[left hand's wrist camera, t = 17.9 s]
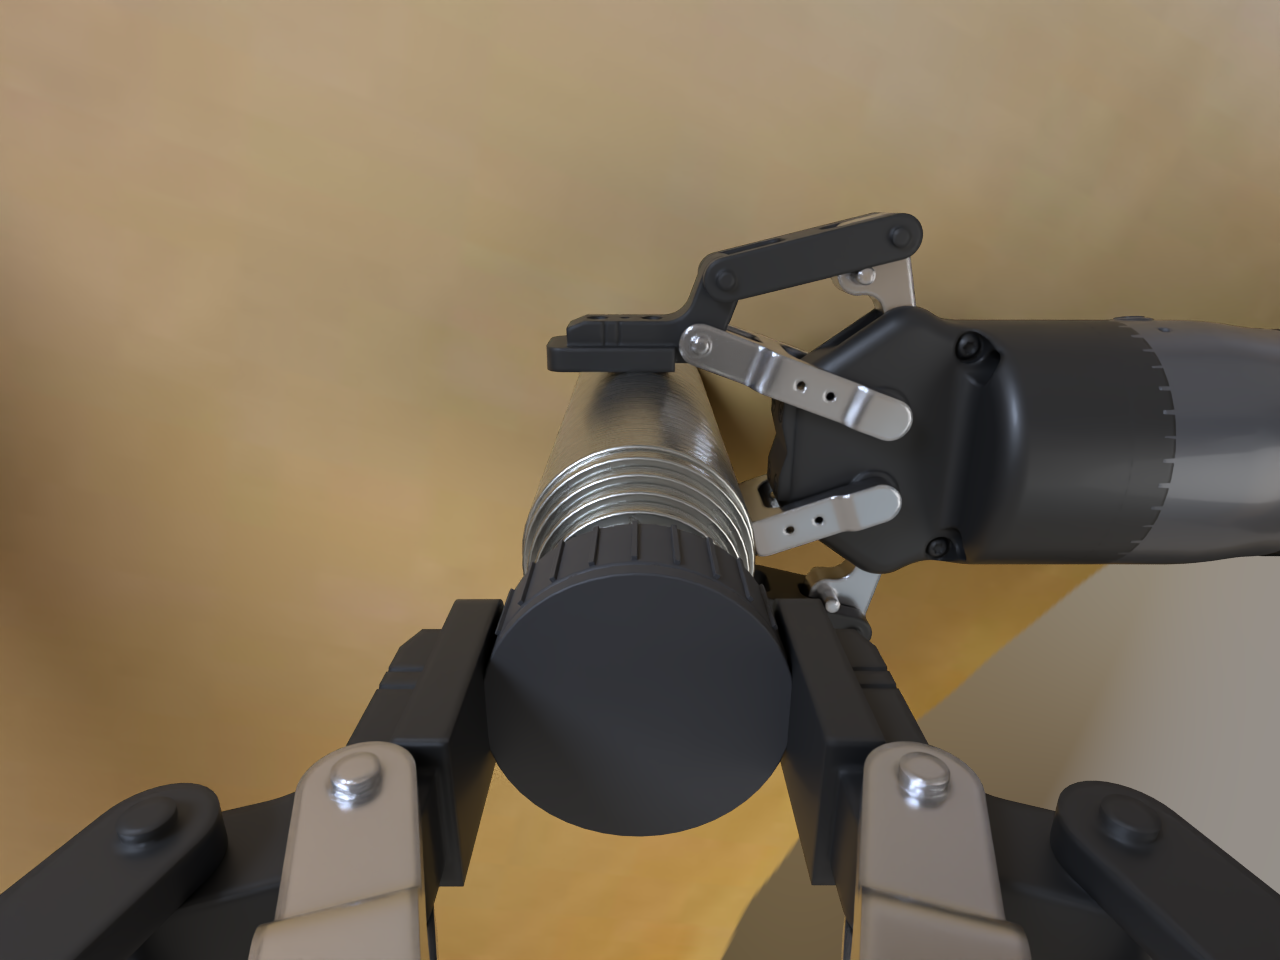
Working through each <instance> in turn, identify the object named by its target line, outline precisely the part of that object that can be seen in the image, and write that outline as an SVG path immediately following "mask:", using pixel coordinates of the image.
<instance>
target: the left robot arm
mask: <svg viewBox="0 0 1280 960" xmlns="http://www.w3.org/2000/svg"><path fill="white" fill-rule="evenodd" d="M503 608H504V604H503V601H502V600H501V599H457V600H456V601H455V602H454V604H453V606H452V608H451V610H450V613H449V615H448V617H447V619H446V621H445V623H444V625H443V628H442V629H422V630H421V631H420V632H418V633H417V634H416V635H415V636H413V637H412V638H411V639H409V640H408V641H407V642H406V643H404V644H403V645H402V646H401V647H400V648H399V650H398V651H397V653H396V655H395V657H394V659H393V661H392V662H391V664H390V666H389V671H388V672H386V673H385V675H384V677H383V679H382V681H381V683H380V684H379V689H377V690H376V692H375V694H374V695H373V697H372V699H371V701H370V703H369V705H368V706H367V708H366V710H365V712H364V714H363V716H362V717H361V719H360V721H359V723H358V725H357V727H356V728H355V730H354V732H353V734H352V736H351V738H350V739H349V741H348V743H347V745H346V747H343V748H340V749H338V750H336V751H333V752H331V753H329V754H328V755H326V756H324V757H323V758H321V759H320V760H318V761H317V762H316V763H314V764H313V765H312V766H311V767H310V768H309V769H308V770H307V771H306V772H305V774H304V775H303V776H302V777H301V779H300V781H299V783H298V785H297V788H296V792H294V793H291V794H288V795H286V796H283V797H280V798H277V799H273V800H270V801H266V802H261V803H257V804H253V805H249V806H244V807H240V808H236V809H231V810H227V811H223V812H221V808H220V804H219V800H218V798H217V795H216V794H215V793H214V792H213V791H212V790H211V789H209V788H208V787H205V786H202V785H199V784H193V783H177V784H169V785H164V786H159V787H156V788H152V789H149V790H146V791H144V792H141V793H138V794H136V795H134V796H132V797H130V798H128V799H126V800H124V801H122V802H120V803H119V804H117V805H115V806H113V807H112V808H111V809H109V810H108V811H106V812H105V813H104V814H102V815H101V816H100V817H98V818H97V819H96V820H95V821H93V822H92V823H91V824H89V825H88V826H87V827H86V828H84V829H83V830H82V831H81V832H79V833H78V834H77V835H76V836H74V837H73V838H72V839H70V840H69V841H68V842H67V843H65V844H64V845H63V846H62V847H60V848H59V849H58V850H56V851H55V852H54V853H53V854H51V855H50V856H49V857H48V858H46V859H45V860H44V861H42V862H41V863H40V864H39V865H37V866H36V867H35V868H34V869H32V870H31V871H30V872H29V873H27V874H26V875H25V876H23V877H22V878H21V879H20V880H18V881H17V882H16V883H15V884H13V885H12V886H11V887H9V888H8V889H7V890H6V891H4V892H3V893H2V894H1V895H0V960H439V955H438V939H437V927H436V919H435V911H434V901H435V898H436V895H437V891H438V888H439V886H464V882H465V878H466V874H467V871H468V867H469V863H470V859H471V855H472V851H473V847H474V844H475V840H476V836H477V832H478V828H479V824H480V820H481V817H482V813H483V809H484V805H485V801H486V797H487V793H488V790H489V786H490V782H491V778H492V774H493V770H494V766H495V763H496V761H495V759H494V757H493V755H492V753H491V751H490V747H489V737H488V725H487V714H486V702H485V690H484V674H485V670H486V667H487V663H488V660H489V658H490V655H491V652H492V649H493V646H494V643H495V640H496V637H497V635H496V634H495V632H496V629H497V626H498V623H499V620H500V617H501V614H502V611H503ZM772 611H773V614H774V617H775V620H776V624H777V627H778V631H779V635H780V638H781V641H782V644H783V647H784V650H785V653H786V656H787V662H788V665H789V668H790V671H791V674H792V690H791V702H790V714H789V726H788V738H787V748H786V750H785V753H784V755H783V757H782V759H781V761H780V762H781V766H782V770H783V773H784V777H785V781H786V785H787V789H788V793H789V797H790V801H791V805H792V809H793V813H794V817H795V821H796V825H797V829H798V833H799V837H800V841H801V845H802V849H803V853H804V857H805V861H806V865H807V869H808V873H809V877H810V880H811V884H812V885H836V887H837V891H838V894H839V897H840V901H841V905H842V908H843V912H844V914H845V919H844V927H843V940H842V955H841V960H1280V895H1279V894H1278V893H1277V892H1276V891H1274V890H1273V889H1272V888H1270V887H1269V886H1268V885H1267V884H1265V883H1264V882H1263V881H1262V880H1260V879H1259V878H1258V877H1256V876H1255V875H1254V874H1253V873H1251V872H1250V871H1249V870H1248V869H1246V868H1245V867H1244V866H1243V865H1241V864H1240V863H1239V862H1237V861H1236V860H1235V859H1234V858H1232V857H1231V856H1230V855H1229V854H1227V853H1226V852H1225V851H1224V850H1222V849H1221V848H1220V847H1218V846H1217V845H1216V844H1215V843H1213V842H1212V841H1211V840H1210V839H1208V838H1207V837H1206V836H1204V835H1203V834H1202V833H1201V832H1199V831H1198V830H1197V829H1195V828H1194V827H1193V826H1192V825H1191V824H1189V823H1188V822H1187V821H1185V820H1184V819H1183V818H1182V817H1180V816H1179V815H1178V814H1177V813H1175V812H1174V811H1173V810H1171V809H1170V808H1168V807H1167V806H1166V805H1164V804H1162V803H1161V802H1159V801H1157V800H1156V799H1154V798H1152V797H1150V796H1148V795H1146V794H1144V793H1142V792H1139V791H1137V790H1134V789H1132V788H1129V787H1126V786H1122V785H1119V784H1114V783H1109V782H1103V781H1083V782H1077V783H1074V784H1072V785H1070V786H1068V787H1067V788H1065V789H1064V790H1063V791H1062V792H1061V794H1060V796H1059V799H1058V803H1057V807H1056V811H1052V810H1048V809H1043V808H1039V807H1035V806H1031V805H1026V804H1022V803H1018V802H1013V801H1009V800H1005V799H1001V798H998V797H994V796H991V795H989V794H986V793H985V792H984V788H983V785H982V783H981V781H980V779H979V777H978V776H977V775H976V774H975V772H974V771H973V770H972V769H971V768H970V767H969V766H968V765H967V764H966V763H964V762H963V761H962V760H960V759H959V758H957V757H956V756H954V755H952V754H951V753H949V752H946V751H944V750H942V749H940V748H937V747H934V746H931V745H929V744H928V743H927V741H926V739H925V737H924V735H923V733H922V731H921V730H920V728H919V726H918V724H917V722H916V720H915V718H914V716H913V715H912V713H911V711H910V709H909V707H908V705H907V703H906V702H905V700H904V698H903V696H902V694H901V692H900V690H899V689H898V688H896V683H895V681H894V679H893V677H892V675H891V674H890V672H889V671H887V666H886V664H885V662H884V661H883V659H882V657H881V655H880V653H879V651H878V649H877V648H876V646H875V645H873V644H872V643H871V642H870V641H868V640H867V639H866V638H865V637H863V636H862V635H861V634H860V633H858V632H857V631H856V630H855V629H834V627H833V625H832V623H831V621H830V619H829V617H828V614H827V612H826V610H825V608H824V606H823V603H822V602H821V600H820V599H774V601H773V605H772Z"/></svg>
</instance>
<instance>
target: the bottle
mask: <svg viewBox="0 0 1280 960" xmlns="http://www.w3.org/2000/svg"><path fill="white" fill-rule="evenodd" d="M632 521H638V524H657V525H661V526H667V527H671V524H674V525H677V529H680V530H683V531H687V532H690V533H693V534H695V535H697V536H700V537H702V538H704V539H707V538H708V537H710V538H712V539H713V543H714V544H716V545H717V546H719V547H721V548H722V549H724V550H725V551H727V552H728V553H729V554H730V555H732V556H733V557H734V558H735V559H737V558H739V557H740V558H741V559H742V560H743V563H744V567H745V568H746V569H747V570H748V571H749V572H750V574H751V575H752V576H753V577H754V571H755V537H754V530H753V526H752V523H751V520H750V516H749V513H748V510H747V508H746V505H745V502H744V499H743V496H742V493H741V490H740V488H739V485H738V482H737V479H736V476H735V473H734V471H733V468H732V465H731V462H730V459H729V456H728V453H727V451H726V448H725V445H724V442H723V439H722V436H721V433H720V431H719V428H718V425H717V422H716V419H715V416H714V414H713V411H712V408H711V405H710V402H709V399H708V396H707V394H706V391H705V388H704V385H703V382H702V379H701V377H700V374H699V371H698V369H697V367H695V366H693V365H691V364H689V363H675V372H643V371H637V372H580V375H579V377H578V380H577V383H576V386H575V388H574V391H573V394H572V397H571V399H570V402H569V405H568V408H567V410H566V413H565V416H564V419H563V421H562V424H561V427H560V430H559V432H558V435H557V438H556V441H555V443H554V446H553V449H552V452H551V454H550V457H549V460H548V463H547V465H546V468H545V471H544V474H543V476H542V479H541V482H540V485H539V487H538V490H537V493H536V496H535V498H534V501H533V504H532V507H531V509H530V512H529V515H528V518H527V521H526V524H525V528H524V534H523V540H522V557H523V560H522V566H523V575H525V574H526V573H527V571H528V567H529V564H530V563H531V562H532V561H533V562H535V563H536V562H538V561H539V560H540V559H541V558H542V557H543V556H544V555H546V554H547V553H548V552H550V551H551V550H553V549H554V548H556V547H557V545H558V542H559V541H560V540H562V539H563V541H564V542H566V541H568V540H570V539H572V538H574V537H576V536H578V535H581V534H583V533H587V532H590V531H593V527H595V526H599V528H605V527H610V526H614V525H624V524H632Z"/></svg>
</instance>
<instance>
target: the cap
mask: <svg viewBox="0 0 1280 960" xmlns="http://www.w3.org/2000/svg"><path fill="white" fill-rule="evenodd" d="M495 634H496V635H497V637H496V640H495V643H494V646H493V649H492V652H491V655H490V658H489V660H488V663H487V667H486V670H485V674H484V690H485V702H486V714H487V725H488V737H489V747H490V751H491V753H492V755H493V757H494V759H495V761H496V762H497V764H498V766H499V767H500V769H501V770H502V772H503V773H504V774H505V776H506V777H507V778H508V780H509V781H510V782H511V783H512V784H513V785H514V786H515V787H516V788H517V789H518V790H519V791H520V793H522V794H523V795H524V796H525V797H526V798H528V799H529V800H530V801H531V802H533V803H534V804H535V805H537V806H538V807H540V808H541V809H543V810H545V811H546V812H548V813H549V814H551V815H553V816H555V817H557V818H559V819H561V820H563V821H565V822H568V823H570V824H573V825H576V826H579V827H581V828H584V829H588V830H592V831H596V832H600V833H605V834H613V835H620V836H655V835H664V834H670V833H676V832H681V831H684V830H688V829H691V828H695V827H698V826H701V825H703V824H706V823H708V822H711V821H713V820H715V819H717V818H719V817H721V816H723V815H725V814H727V813H729V812H730V811H732V810H733V809H735V808H736V807H738V806H739V805H741V804H742V803H744V802H745V801H746V800H747V799H749V798H750V797H751V796H752V795H753V794H754V793H755V792H756V791H758V790H759V789H760V788H761V786H762V785H763V784H764V783H765V782H766V781H767V780H768V778H769V777H770V776H771V775H772V773H773V772H774V770H775V769H776V767H777V766H778V764H779V763H780V761H781V759H782V757H783V755H784V753H785V750H786V748H787V738H788V726H789V714H790V702H791V690H792V674H791V671H790V668H789V665H788V662H787V656H786V653H785V650H784V647H783V644H782V641H781V638H780V635H779V631H778V627H777V624H776V620H775V617H774V614H773V611H772V608H771V605H770V602H769V599H768V596H767V593H766V590H765V587H764V586H763V584H761V585H758V583H757V582H756V581H755V579H754V578H753V576H752V575H751V574H750V572H749V571H748V570H747V569H746V568H745V567H744V563H743V560H742V559H741V558H740V557H739V558H737V559H735V558H734V557H733V556H732V555H730V554H729V553H728V552H727V551H725V550H724V549H722V548H721V547H719V546H717V545H716V544H714V543H713V539H712V538H710V537H708V538H707V539H704V538H702V537H700V536H697V535H695V534H693V533H690V532H687V531H683V530H680V529H677V525H674V524H671V527H667V526H661V525H657V524H638V521H632V524H624V525H614V526H610V527H605V528H599V526H595V527H593V531H590V532H587V533H583V534H581V535H578V536H576V537H574V538H572V539H570V540H568V541H566V542H564V541H563V539H562V540H560V541H559V542H558V545H557V547H556V548H554V549H553V550H551V551H550V552H548V553H547V554H546V555H544V556H543V557H542V558H541V559H540V560H539V561H538V562H536V563H535V562H533V561H532V562H531V563H530V564H529V567H528V571H527V573H526V574H525V575H524V577H523V578H522V579H521V581H520V582H519V584H518V585H517V587H516V588H515V590H514V589H510V591H509V594H508V597H507V600H506V602H505V605H504V608H503V611H502V614H501V617H500V620H499V623H498V626H497V629H496V632H495Z"/></svg>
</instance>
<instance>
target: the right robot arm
mask: <svg viewBox="0 0 1280 960" xmlns="http://www.w3.org/2000/svg"><path fill="white" fill-rule="evenodd" d="M922 238H923V230H922V226H921V224H920V222H919V221H918V219H916V218H915V217H914V216H912V215H910V214H906V213H870V214H866V215H862V216H858V217H854V218H850V219H846V220H842V221H838V222H834V223H830V224H826V225H822V226H818V227H814V228H810V229H806V230H802V231H798V232H794V233H790V234H786V235H782V236H778V237H774V238H770V239H766V240H762V241H758V242H754V243H750V244H746V245H742V246H738V247H734V248H730V249H726V250H722V251H718V252H714V253H711V254H709V255H707V256H706V257H705V258H704V259H703V260H702V261H701V263H700V265H699V268H698V275H697V277H696V280H695V283H694V285H693V288H692V291H691V293H690V296H689V298H688V300H687V302H686V303H685V305H684V306H683V307H682V308H681V309H679V310H678V311H676V312H674V313H671V314H665V315H598V314H587V315H585V316H582V317H580V318H577V319H575V320H572V321H571V322H570V323H569V325H568V327H567V336H556V337H552V338H551V339H550V341H549V342H548V344H547V367H548V370H550V371H554V372H637V371H643V372H675V363H689V364H691V365H693V366H695V367H698V368H701V369H704V370H706V371H709V372H712V373H714V374H717V375H720V376H723V377H725V378H728V379H731V380H733V381H736V382H739V383H742V384H744V385H746V386H748V387H750V388H752V389H753V390H755V391H757V392H759V393H761V394H763V395H766V396H768V397H771V398H772V407H771V411H772V416H773V420H774V425H775V430H776V436H775V439H774V442H773V445H772V448H771V450H770V453H769V456H768V470H767V474H765V475H762V476H759V477H756V478H753V479H750V480H747V481H744V482H742V483H740V484H738V485H739V488H740V490H741V493H742V496H743V499H744V502H745V505H746V508H747V510H748V513H749V516H750V520H751V523H752V526H753V530H754V537H755V555H757V556H769V555H772V554H776V553H779V552H782V551H785V550H788V549H791V548H794V547H797V546H800V545H803V544H807V543H810V542H813V541H816V540H819V541H820V542H822V543H823V544H825V545H826V546H828V547H829V548H830V549H832V550H833V551H835V552H836V553H838V554H839V555H840V556H842V557H843V558H845V559H846V560H845V561H844V562H843V563H841V564H840V565H838V566H835V567H814V568H812V569H811V570H810V572H809V573H808V574H807V575H801V574H797V573H792V572H788V571H783V570H779V569H774V568H770V567H765V566H761V565H756V564H755V571H754V577H753V578H754V579H755V581H756V582H757V583H758V585H761V584H763V586H764V587H765V590H766V593H767V596H768V599H769V602H770V605H771V608H772V605H773V601H774V599H820V600H821V602H822V603H823V606H824V608H825V610H826V612H827V614H828V617H829V619H830V621H831V623H832V625H833V627H834V629H855V630H856V631H857V632H858V633H860V634H861V635H862V636H863V637H865V638H866V639H867V640H868V641H870V639H871V636H872V630H871V627H870V625H869V623H868V621H867V620H866V611H867V609H868V606H869V604H870V601H871V599H872V596H873V594H874V591H875V589H876V586H877V584H878V581H879V579H880V576H881V574H886V573H890V572H894V571H896V570H898V569H900V568H902V567H904V566H907V565H909V564H912V563H915V562H918V561H923V560H939V561H946V562H953V563H962V564H1186V563H1197V562H1206V561H1214V560H1221V559H1227V558H1234V557H1245V556H1280V329H1261V328H1248V327H1240V326H1233V325H1227V324H1221V323H1212V322H1204V321H1188V320H1154V319H1152V318H1145V317H1144V316H1126V317H1116V318H1113V319H1111V320H949V319H942V318H939V317H937V316H935V315H934V314H932V313H931V312H929V311H928V310H926V309H923V308H920V307H916V302H915V293H914V284H913V275H912V266H911V257H910V256H912V255H913V254H914V253H915V252H916V251H917V250H918V248H919V247H920V245H921V242H922ZM830 277H831V280H832V282H833V284H834V285H835V286H836V287H837V288H838V289H839V290H841V291H844V292H846V293H848V294H851V295H857V296H858V295H868V296H869V297H870V298H871V299H872V301H873V303H874V306H875V309H873V310H872V311H870V312H869V313H867V314H866V315H864V316H863V317H862V318H860V319H859V320H857V321H856V322H854V323H853V324H851V325H850V326H848V327H847V328H845V329H844V330H842V331H841V332H839V333H838V334H837V335H835V336H834V337H832V338H831V339H829V340H828V341H826V342H825V343H823V344H822V345H820V346H819V347H817V348H816V349H815V350H813V351H812V352H810V353H809V352H807V351H804V350H801V349H799V348H796V347H793V346H791V345H788V344H785V343H783V342H780V341H777V340H775V339H772V338H769V337H767V336H764V335H761V334H758V333H753V332H749V331H746V330H744V329H741V328H738V327H736V326H733V325H731V324H729V322H730V320H731V317H732V315H733V312H734V310H735V307H736V305H737V302H738V300H740V299H745V298H749V297H753V296H757V295H761V294H765V293H769V292H773V291H777V290H781V289H785V288H789V287H793V286H798V285H802V284H806V283H810V282H814V281H818V280H822V279H826V278H830ZM771 492H773V493H771Z"/></svg>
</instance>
